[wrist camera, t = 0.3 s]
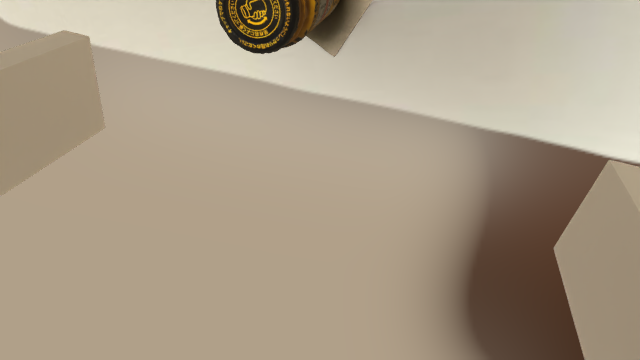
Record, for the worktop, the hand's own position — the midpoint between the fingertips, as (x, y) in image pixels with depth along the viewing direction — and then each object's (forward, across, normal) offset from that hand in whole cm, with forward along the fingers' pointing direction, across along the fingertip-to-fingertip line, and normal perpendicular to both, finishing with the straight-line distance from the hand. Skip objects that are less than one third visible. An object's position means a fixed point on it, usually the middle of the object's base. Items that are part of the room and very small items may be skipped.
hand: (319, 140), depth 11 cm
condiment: (+27, -7, -2) cm, 28 cm away
